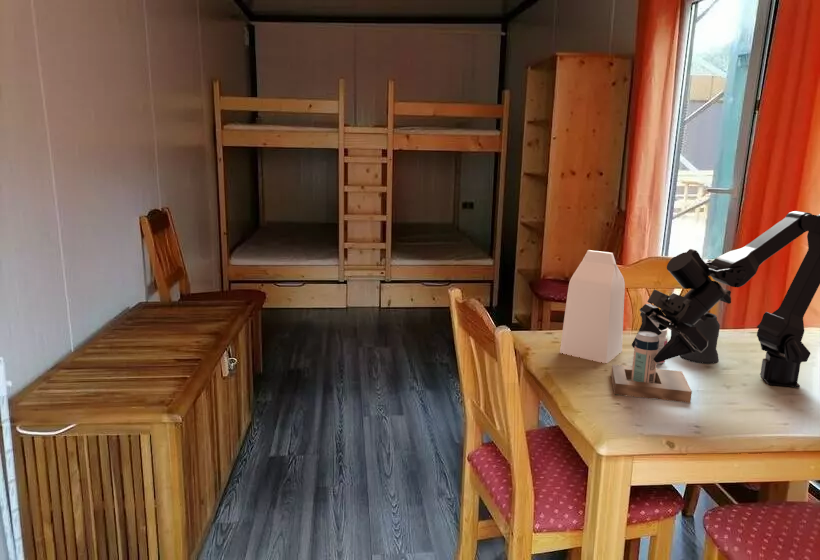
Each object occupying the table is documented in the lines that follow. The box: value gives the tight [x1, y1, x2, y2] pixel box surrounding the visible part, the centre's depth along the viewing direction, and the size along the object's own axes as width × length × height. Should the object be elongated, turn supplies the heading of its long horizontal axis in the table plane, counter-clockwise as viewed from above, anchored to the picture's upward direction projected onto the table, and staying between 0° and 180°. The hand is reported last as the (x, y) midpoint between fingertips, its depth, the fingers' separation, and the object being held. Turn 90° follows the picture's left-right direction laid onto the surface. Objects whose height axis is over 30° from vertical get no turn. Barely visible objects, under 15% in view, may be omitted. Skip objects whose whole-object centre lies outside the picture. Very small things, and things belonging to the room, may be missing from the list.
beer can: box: [631, 331, 659, 383], centre depth 135 cm, size 5×5×12 cm
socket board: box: [610, 364, 693, 404], centre depth 136 cm, size 15×12×2 cm
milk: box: [559, 249, 626, 364], centre depth 156 cm, size 12×12×26 cm
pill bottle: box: [657, 328, 669, 365], centre depth 152 cm, size 5×5×8 cm
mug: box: [670, 311, 721, 365], centre depth 156 cm, size 12×9×11 cm
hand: (643, 353), depth 134 cm, fingers open, 9 cm apart
